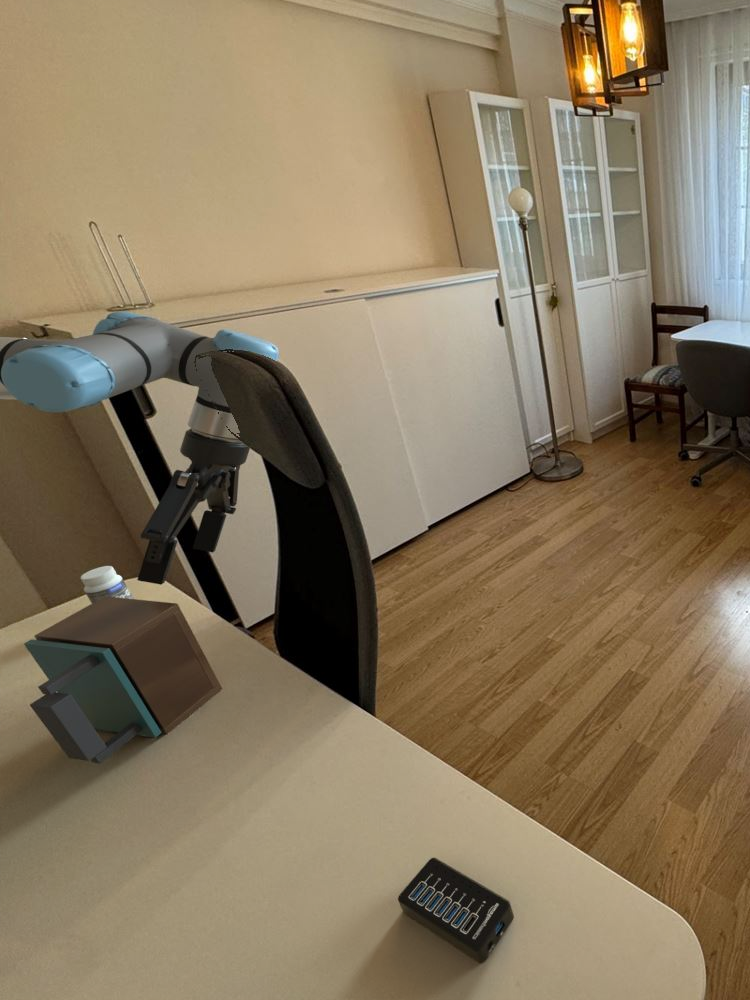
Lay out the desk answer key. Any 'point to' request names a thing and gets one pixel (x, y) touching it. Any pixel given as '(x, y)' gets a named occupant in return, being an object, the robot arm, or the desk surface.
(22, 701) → the desk surface
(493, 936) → the multiport hub
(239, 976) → the desk surface
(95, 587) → the pill bottle
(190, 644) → the cabinet
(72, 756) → the door
